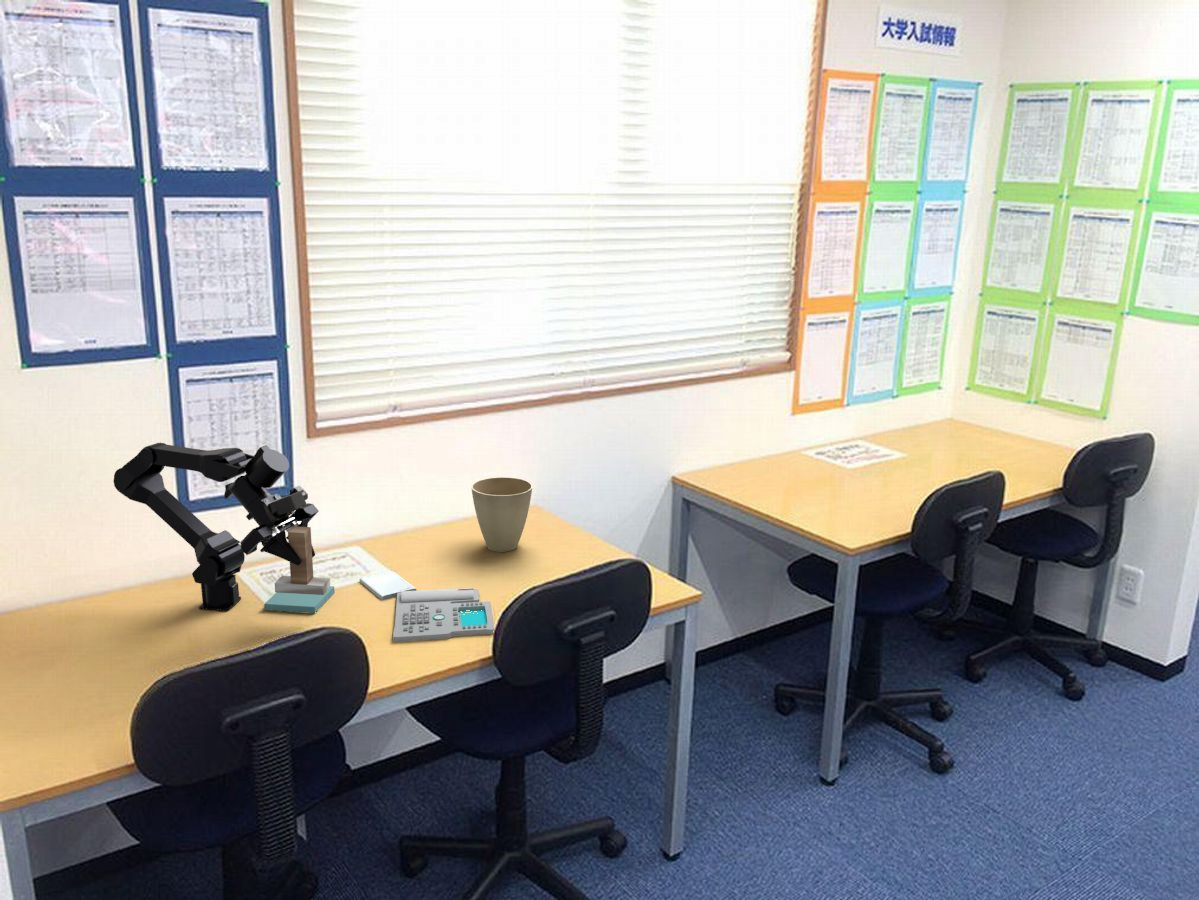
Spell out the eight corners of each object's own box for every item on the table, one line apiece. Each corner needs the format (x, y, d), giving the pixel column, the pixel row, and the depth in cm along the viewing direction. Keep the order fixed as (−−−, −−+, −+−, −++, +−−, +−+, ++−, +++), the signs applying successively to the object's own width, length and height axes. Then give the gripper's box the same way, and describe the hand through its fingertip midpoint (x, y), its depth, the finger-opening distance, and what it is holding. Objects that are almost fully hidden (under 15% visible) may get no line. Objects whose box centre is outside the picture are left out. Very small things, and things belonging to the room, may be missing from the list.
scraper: (323, 595, 200) (320, 534, 197) (275, 592, 201) (270, 531, 197) (330, 587, 204) (327, 527, 200) (282, 584, 205) (278, 525, 201)
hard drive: (416, 588, 219) (392, 569, 229) (381, 596, 215) (359, 577, 224) (416, 594, 220) (393, 576, 229) (382, 603, 215) (359, 584, 225)
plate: (264, 610, 209) (264, 603, 208) (286, 589, 219) (285, 583, 219) (315, 613, 208) (314, 607, 207) (334, 592, 218) (334, 586, 218)
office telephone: (396, 586, 217) (488, 581, 220) (396, 597, 218) (488, 592, 221) (392, 630, 195) (495, 625, 198) (393, 643, 196) (495, 637, 199)
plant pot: (459, 549, 245) (458, 487, 241) (498, 532, 257) (497, 473, 253) (507, 562, 237) (506, 498, 233) (544, 544, 249) (544, 483, 245)
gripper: (248, 490, 189) (300, 553, 188) (308, 465, 206) (356, 523, 205) (218, 524, 194) (268, 585, 193) (279, 497, 211) (325, 553, 210)
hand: (307, 560), depth 200 cm, fingers closed on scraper, 4 cm apart
